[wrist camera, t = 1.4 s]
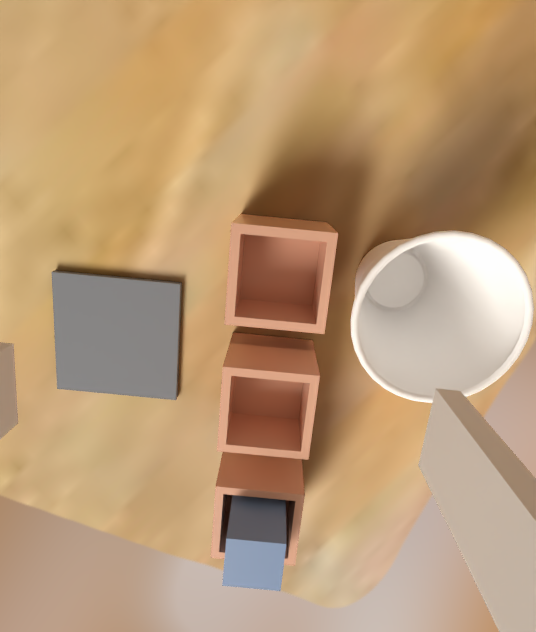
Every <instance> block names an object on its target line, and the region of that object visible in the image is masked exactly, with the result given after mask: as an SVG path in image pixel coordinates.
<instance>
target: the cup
mask: <svg viewBox="0 0 536 632" xmlns="http://www.w3.org/2000/svg"><path fill="white" fill-rule="evenodd" d="M533 311H534V305H533V296H532V290H531V287H530V284H529V281H528V278H527V275H526V273H525V272H524V270H523V269H522V267H521V266H520V264H519V262H518V261H517V260H516V259H515V258H514V257H513V256H512V255H511V254H510V253H509V252H508V251H507V250H506V249H505V248H504V247H502V246H501V245H499V244H497V243H496V242H494V241H492V240H491V239H489V238H486V237H483V236H480V235H478V234H475V233H471V232H463V231H456V230H450V231H436V232H431V233H428V234H424V235H420V236H416V237H414V238H411V239H402V240H392V241H388V242H384V243H382V244H380V245H378V246H376V247H374V248H373V249H372V250H370V251H369V252H368V253H367V254H366V255H365V256H364V258H363V259H362V261H361V262H360V264H359V266H358V269H357V271H356V277H355V300H354V303H353V308H352V314H351V337H352V341H353V345H354V350H355V352H356V354H357V356H358V359H359V361H360V363H361V365H362V366H363V367H364V369H365V370H366V371H367V373H368V374H369V375H370V376H371V378H372V379H374V380H375V381H376V382H377V383H378V384H379V385H381V386H382V387H383V388H385V389H386V390H388V391H390V392H392V393H394V394H396V395H397V396H400V397H404V398H407V399H410V400H413V401H420V402H429V403H432V402H433V398H434V393H435V389H436V388H437V389H447V390H456V391H461V392H462V394H463V395H464V396H465V397H467V396H470V395H472V394H474V393H477V392H479V391H481V390H483V389H484V388H486V387H487V386H489V385H491V384H492V383H494V382H495V381H496V380H497V379H499V378H500V377H501V376H502V375H503V374H504V373H505V372H506V371H508V369H509V368H510V367H511V366H512V364H513V363H514V362H515V361H516V359H517V358H518V357H519V355H520V353H521V351H522V350H523V348H524V346H525V344H526V342H527V340H528V336H529V333H530V330H531V327H532V321H533Z"/></svg>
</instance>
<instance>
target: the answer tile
mask: <svg viewBox="0 0 536 632" xmlns="http://www.w3.org/2000/svg"><path fill="white" fill-rule="evenodd" d="M52 288H53V309H54V330H55V351H56V372H57V389H66V390H76V391H87V392H97V393H108V394H118V395H129V396H139V397H150V398H160V399H171V400H176V399H177V397H178V371H179V345H180V318H181V292H182V283H181V282H171V281H160V280H150V279H140V278H129V277H119V276H108V275H98V274H88V273H77V272H67V271H56V270H55V271H53V272H52Z"/></svg>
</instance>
